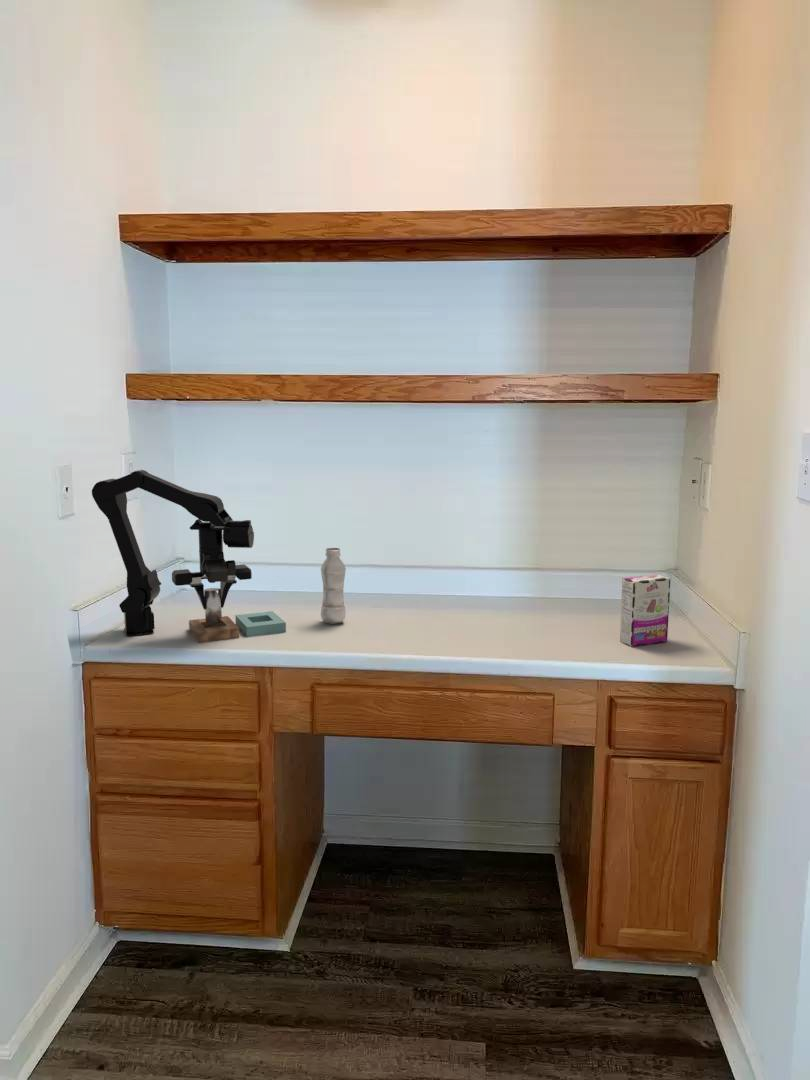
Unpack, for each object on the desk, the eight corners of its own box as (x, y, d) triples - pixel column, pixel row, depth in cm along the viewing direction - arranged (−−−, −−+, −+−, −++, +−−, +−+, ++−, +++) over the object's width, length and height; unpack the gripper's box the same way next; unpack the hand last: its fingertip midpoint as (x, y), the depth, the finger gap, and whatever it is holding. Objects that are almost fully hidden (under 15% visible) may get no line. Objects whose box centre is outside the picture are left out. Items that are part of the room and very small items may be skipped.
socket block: (198, 642, 191) (198, 632, 191) (189, 629, 202) (188, 620, 201) (239, 637, 196) (239, 628, 195) (228, 625, 206) (227, 616, 206)
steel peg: (207, 623, 196) (206, 592, 194) (204, 619, 199) (202, 588, 198) (223, 621, 197) (222, 590, 196) (219, 617, 201) (218, 587, 199)
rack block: (247, 636, 196) (247, 627, 196) (235, 624, 207) (235, 615, 207) (285, 632, 201) (285, 622, 200) (272, 620, 211) (272, 611, 211)
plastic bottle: (329, 618, 214) (328, 545, 210) (350, 621, 211) (350, 548, 207) (315, 624, 208) (315, 549, 205) (337, 627, 205) (337, 552, 201)
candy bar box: (654, 636, 199) (658, 573, 196) (667, 642, 195) (672, 577, 192) (617, 641, 195) (621, 577, 192) (630, 647, 191) (635, 581, 188)
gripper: (178, 556, 184) (181, 620, 186) (256, 550, 192) (258, 612, 194) (170, 547, 194) (172, 609, 196) (245, 542, 202) (246, 601, 204)
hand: (213, 608), depth 198 cm, fingers closed on steel peg, 4 cm apart
